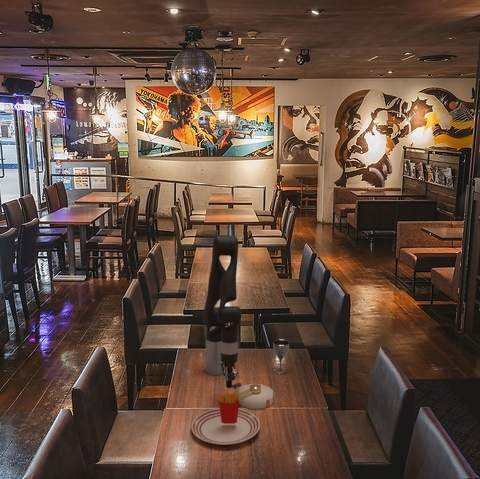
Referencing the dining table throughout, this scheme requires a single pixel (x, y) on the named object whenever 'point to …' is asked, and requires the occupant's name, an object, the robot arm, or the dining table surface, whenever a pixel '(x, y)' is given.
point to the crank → (253, 390)
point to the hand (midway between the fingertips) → (228, 387)
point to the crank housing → (257, 398)
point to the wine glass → (280, 352)
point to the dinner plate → (225, 427)
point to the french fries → (229, 408)
